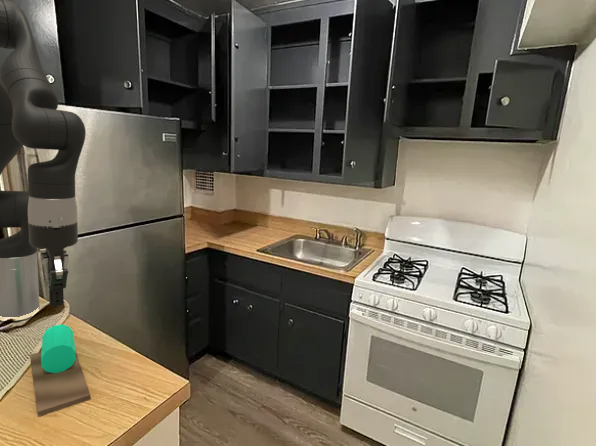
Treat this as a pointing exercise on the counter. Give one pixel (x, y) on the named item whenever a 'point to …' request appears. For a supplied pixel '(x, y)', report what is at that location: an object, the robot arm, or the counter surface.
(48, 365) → the candle
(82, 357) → the counter surface
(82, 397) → the board
